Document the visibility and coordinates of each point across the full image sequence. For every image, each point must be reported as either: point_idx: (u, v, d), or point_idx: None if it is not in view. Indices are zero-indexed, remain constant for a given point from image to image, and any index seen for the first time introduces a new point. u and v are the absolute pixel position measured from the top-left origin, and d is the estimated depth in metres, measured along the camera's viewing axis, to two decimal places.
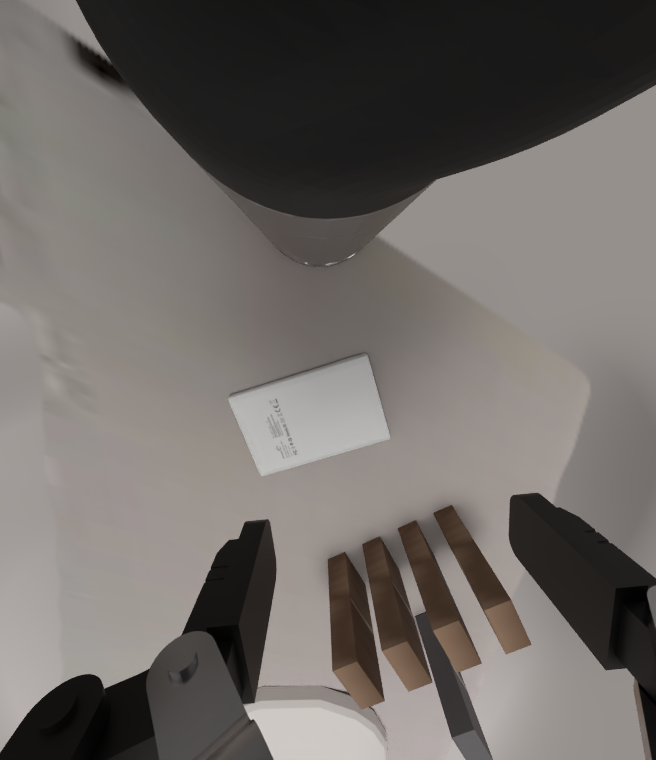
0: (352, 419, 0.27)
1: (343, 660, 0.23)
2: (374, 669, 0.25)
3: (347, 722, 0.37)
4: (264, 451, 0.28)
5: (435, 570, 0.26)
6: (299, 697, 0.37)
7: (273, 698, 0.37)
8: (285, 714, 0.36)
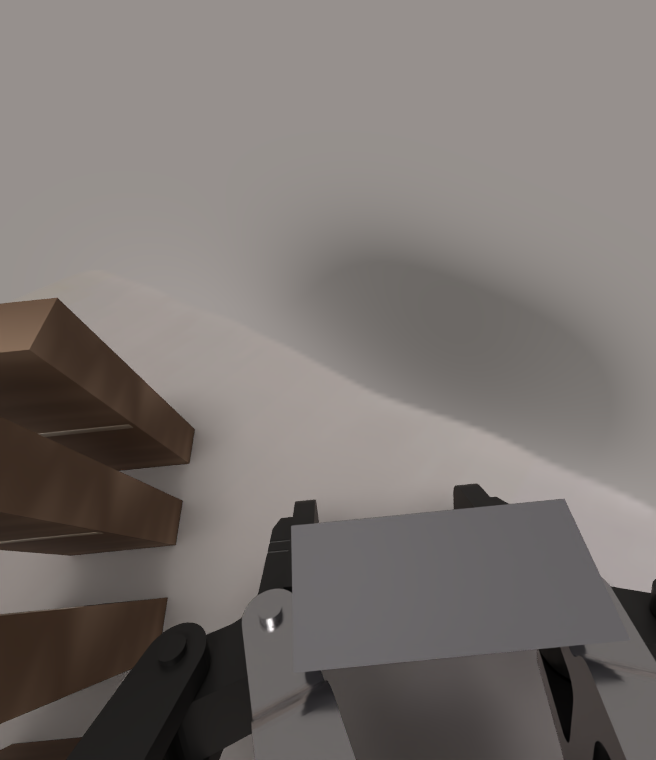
0: None
1: None
2: None
3: None
4: None
5: None
6: None
7: None
8: None
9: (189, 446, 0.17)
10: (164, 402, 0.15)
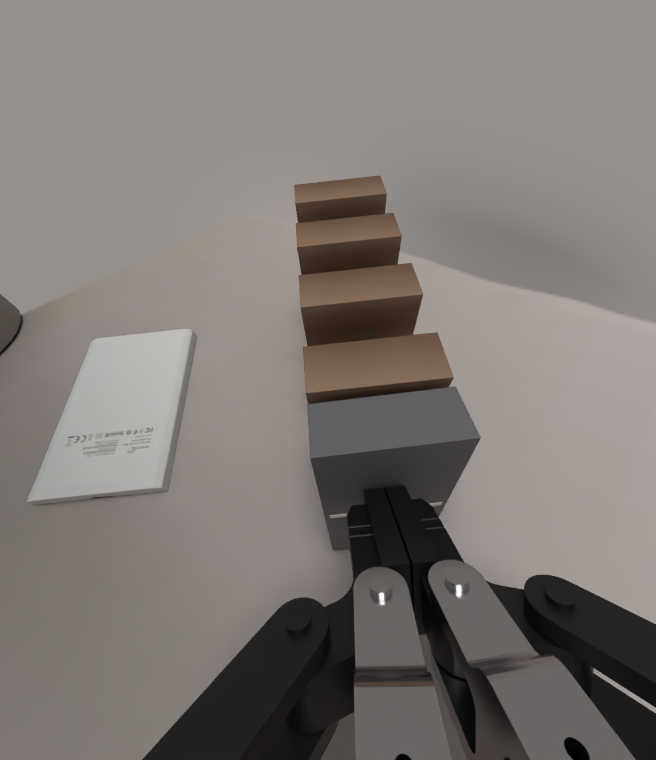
0: (146, 360, 0.23)
1: None
2: None
3: None
4: (124, 470, 0.19)
5: None
6: None
7: None
8: None
9: None
10: None
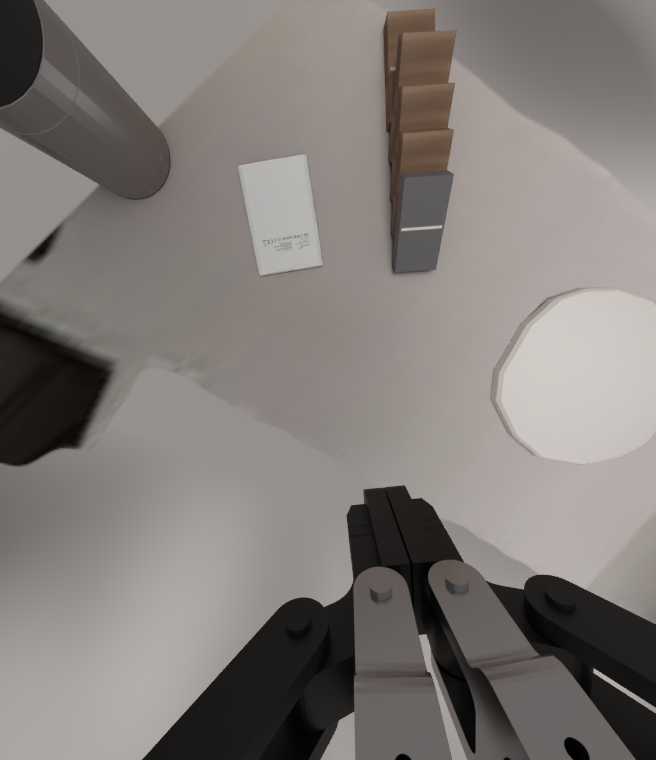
0: (285, 184, 0.37)
1: (400, 137, 0.32)
2: None
3: (560, 308, 0.39)
4: (301, 258, 0.39)
5: (394, 93, 0.33)
6: (515, 341, 0.41)
7: (504, 362, 0.42)
8: (520, 356, 0.41)
9: None
10: None
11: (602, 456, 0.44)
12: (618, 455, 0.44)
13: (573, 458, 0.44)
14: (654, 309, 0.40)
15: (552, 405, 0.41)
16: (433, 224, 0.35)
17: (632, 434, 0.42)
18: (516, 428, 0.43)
